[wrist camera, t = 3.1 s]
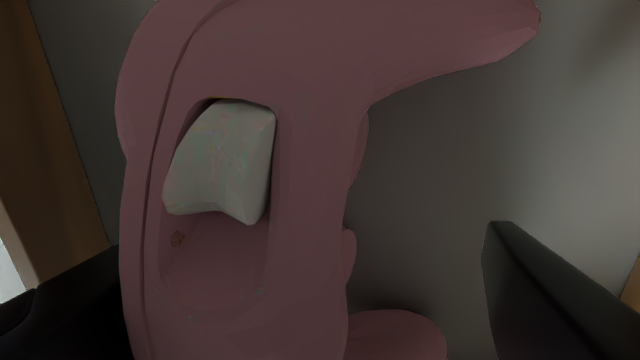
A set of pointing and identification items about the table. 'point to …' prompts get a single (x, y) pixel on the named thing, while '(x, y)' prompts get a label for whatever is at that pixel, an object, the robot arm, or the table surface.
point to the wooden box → (58, 166)
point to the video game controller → (272, 167)
